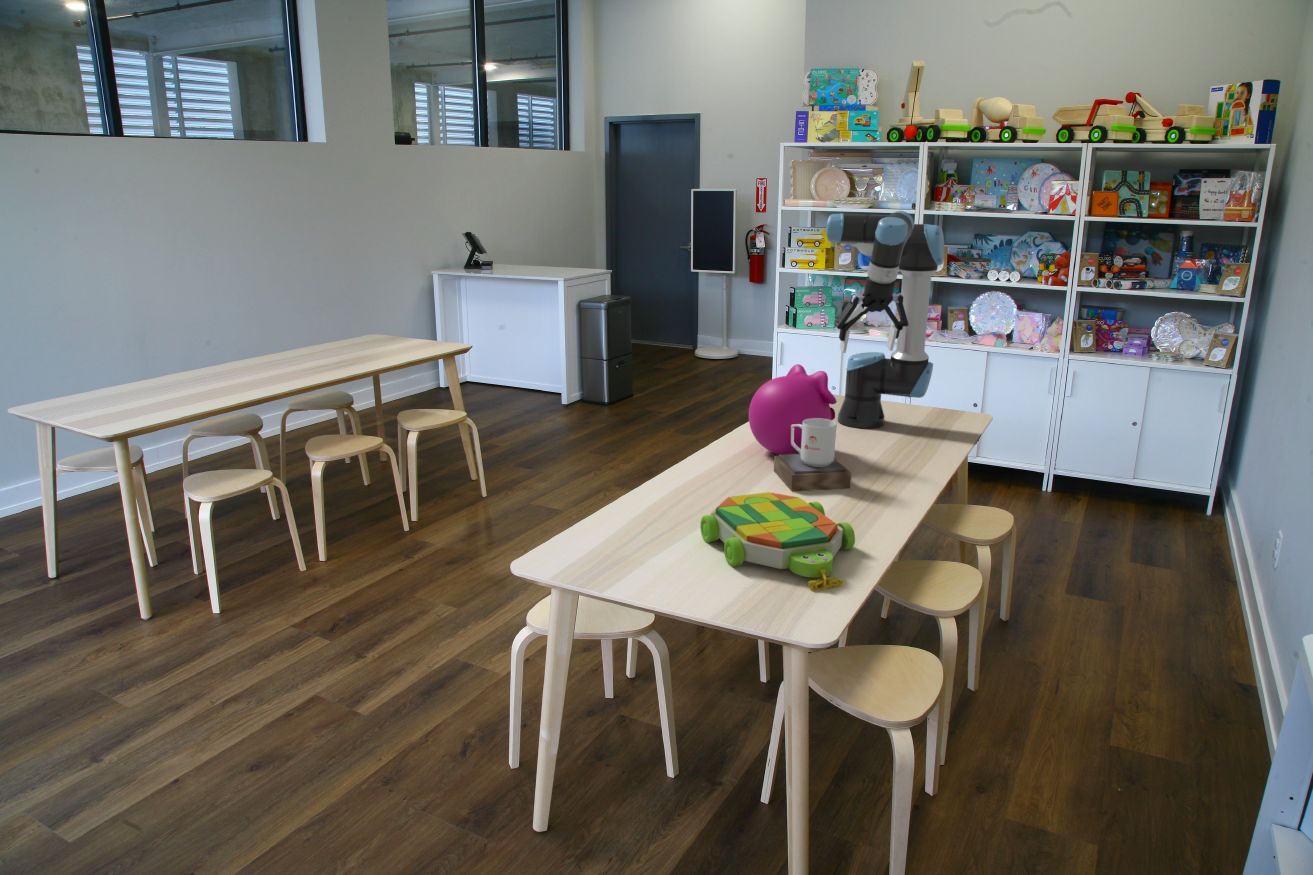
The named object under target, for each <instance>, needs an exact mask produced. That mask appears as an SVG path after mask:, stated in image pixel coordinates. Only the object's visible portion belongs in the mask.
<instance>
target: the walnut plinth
mask: <svg viewBox="0 0 1313 875" xmlns="http://www.w3.org/2000/svg"><path fill="white" fill-rule="evenodd" d="M773 472H774V473H775V475H777V477H778V478H779V479H780V480H781V481H782V482H783V484H784V485H785V486H786V487H787V488H788V489H789V490H790V492H801V491H805V492H806V491H818V490H820V491H821V490H823V491H824V490H839V489H840V490H842V489H843V490H845V489H846V490H847V489H851V481H852V472H851V471H850V470H849V469H848V468H847V467H846V466H844V465H843V463H841V462H840V461H839V460H838V459H837V458H836V457H834V461H833V462H832V463H831V464H830V465H829V466H826V467H813V466H808V465H806V464H804V463H803V461H802V460H801V458H800V454H786V455H780V454H778V455H774V459H773Z"/></svg>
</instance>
